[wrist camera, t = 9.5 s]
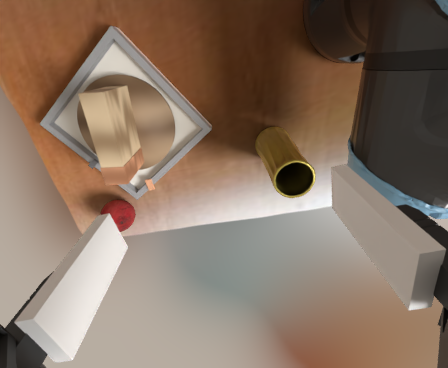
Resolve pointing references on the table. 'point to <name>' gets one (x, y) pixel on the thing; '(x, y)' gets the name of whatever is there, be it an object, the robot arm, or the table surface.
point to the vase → (284, 163)
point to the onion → (120, 213)
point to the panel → (143, 69)
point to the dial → (125, 125)
